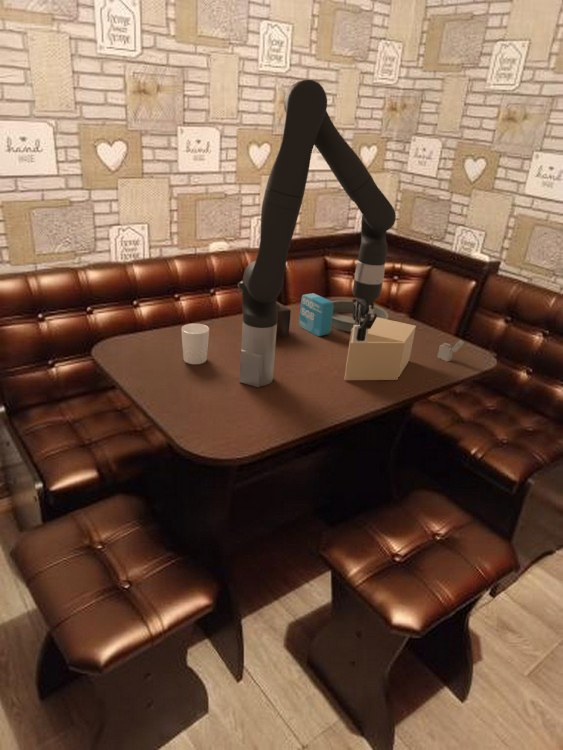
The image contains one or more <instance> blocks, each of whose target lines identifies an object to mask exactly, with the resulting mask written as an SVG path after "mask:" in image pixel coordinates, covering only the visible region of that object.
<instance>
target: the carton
mask: <svg viewBox="0 0 563 750" xmlns="http://www.w3.org/2000/svg"><path fill="white" fill-rule="evenodd" d="M416 328H417V326H416V325H414V324H409V323H404V322H401V321H395V320H392V319H389V318H388V319H383V318H379V317H377V318H376V320H375V321H374V323H373V325H372V327H371V329H368V335H367V341H366V342H404V343H405V344H404V349H403V355H402V360H401V365H400V370H399V375H398V377H400V376H401V375H402V373H403V371H404V369H406V366H407V364H408V363H409V362H408V361H410V358H411V352H412V347H413V342H414V338H415V332H416ZM352 333H353V328H352V329H351V332H350V337H349V343H350V342H351V340H352ZM349 343H348V344H349ZM348 350H349V348H348ZM347 357H348V355H347V356H346V358H347ZM345 364H347V362H346V363H345Z"/></svg>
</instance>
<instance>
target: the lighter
mask: <svg viewBox="0 0 563 750" xmlns="http://www.w3.org/2000/svg"><path fill="white" fill-rule="evenodd" d="M464 344H465V342H464V341H463V340H461V339H460V340H458V341H457V342H456V343H455V345H453V347H451V346H452V345H451V344H450V343H447V342H444V343H443V344H440V345H439V348H438V352H437V358H438V359H440V358H441V359H440V360H443V361H444V362H447V361H449V362H451V361H452V357H453V353H457V352H458V351H459V350H460V348H461V347H462V346H463V345H464ZM450 360H451V361H450Z"/></svg>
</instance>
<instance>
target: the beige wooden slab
mask: <svg viewBox="0 0 563 750" xmlns="http://www.w3.org/2000/svg"><path fill="white" fill-rule="evenodd" d="M357 332H358V325H354V326H353V333H352V340H351V342H350V341H349V342H350V343H348V349H349V350H348V351H347V356H348V357H347V356H346V363H347V364H346V363H345V364H346V365H345V371H344V381H384V380H385V381H386V380H387V381H394V380H395V381H396V380H399V378H398V375H399V370H400V365H401V360H402V355H403V349H404V344H405V343H404V342H366V341H367V335H368V329H366V335H365V340H364V341H358V340H357V339H356V338H357Z"/></svg>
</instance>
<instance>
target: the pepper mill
mask: <svg viewBox="0 0 563 750" xmlns="http://www.w3.org/2000/svg"><path fill="white" fill-rule="evenodd" d="M237 287H238V288H239V290H240V293H241V296H242V294H243V279H242V280H240V281H239V282H238V283H237ZM276 306H277V313H278V319H277V331H276V339H278V337H280V338H283V337H288V336H290V326H291V325H290V324H291V314H292V313H291V312H292V310H291V309H289V308H288V307H286V306H285V305H284V304H281V303H280V302H278V301H277V300H276Z"/></svg>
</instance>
